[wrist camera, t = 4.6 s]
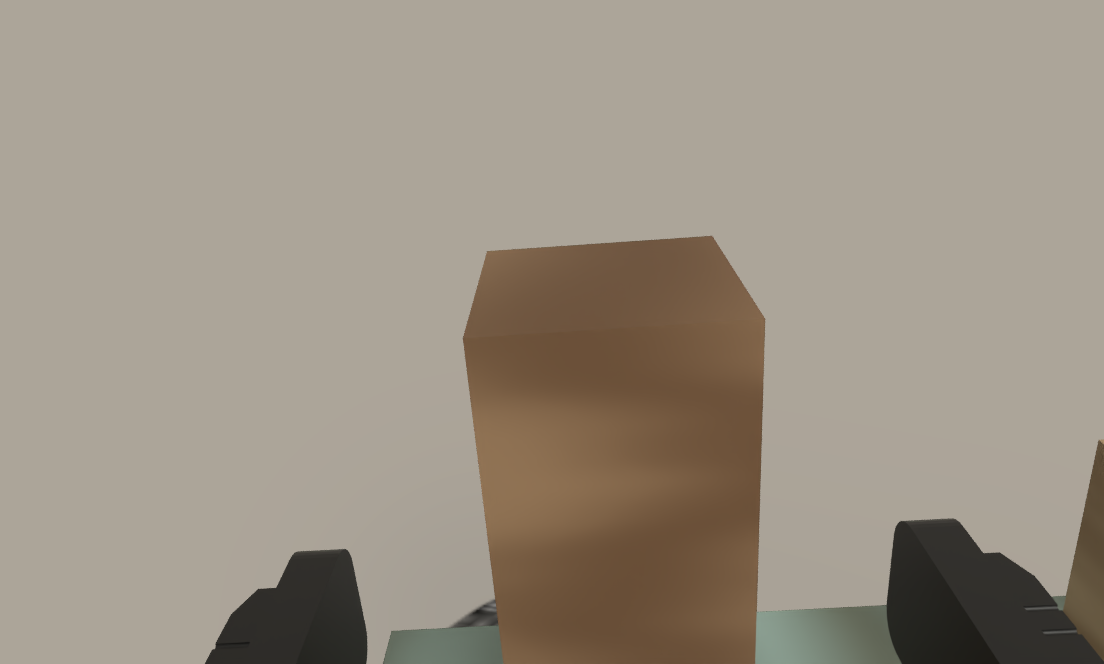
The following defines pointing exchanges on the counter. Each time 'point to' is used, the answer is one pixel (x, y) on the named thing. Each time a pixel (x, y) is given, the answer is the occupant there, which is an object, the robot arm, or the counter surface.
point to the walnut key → (619, 451)
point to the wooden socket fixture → (814, 617)
